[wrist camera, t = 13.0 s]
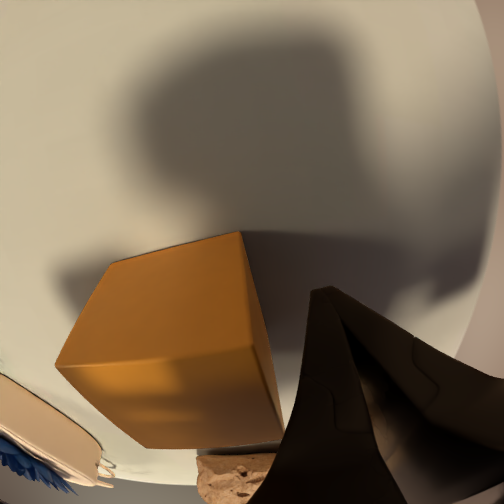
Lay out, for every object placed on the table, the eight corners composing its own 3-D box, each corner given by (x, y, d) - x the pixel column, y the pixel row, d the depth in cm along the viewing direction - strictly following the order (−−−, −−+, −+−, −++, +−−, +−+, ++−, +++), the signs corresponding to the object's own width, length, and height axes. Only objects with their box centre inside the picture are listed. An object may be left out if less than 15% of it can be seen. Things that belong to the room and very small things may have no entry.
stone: (294, 468, 21) (302, 507, 16) (183, 459, 17) (183, 508, 13) (355, 432, 17) (371, 481, 13) (224, 424, 14) (228, 495, 10)
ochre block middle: (110, 262, 8) (52, 365, 4) (240, 229, 8) (253, 344, 4) (161, 352, 10) (145, 449, 6) (267, 334, 10) (286, 439, 6)
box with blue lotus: (-67, 408, 6) (62, 498, 15) (-31, 437, 5) (156, 525, 14) (-45, 363, 12) (69, 459, 21) (5, 357, 11) (159, 472, 20)
